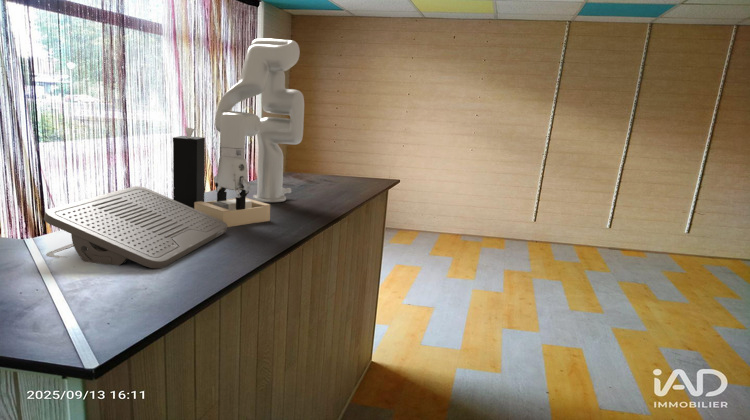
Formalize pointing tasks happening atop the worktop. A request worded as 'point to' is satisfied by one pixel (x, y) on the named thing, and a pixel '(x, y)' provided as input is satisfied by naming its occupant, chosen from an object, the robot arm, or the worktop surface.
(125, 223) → the foot rest
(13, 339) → the worktop surface
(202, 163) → the tissue box
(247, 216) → the carton
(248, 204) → the capped box
